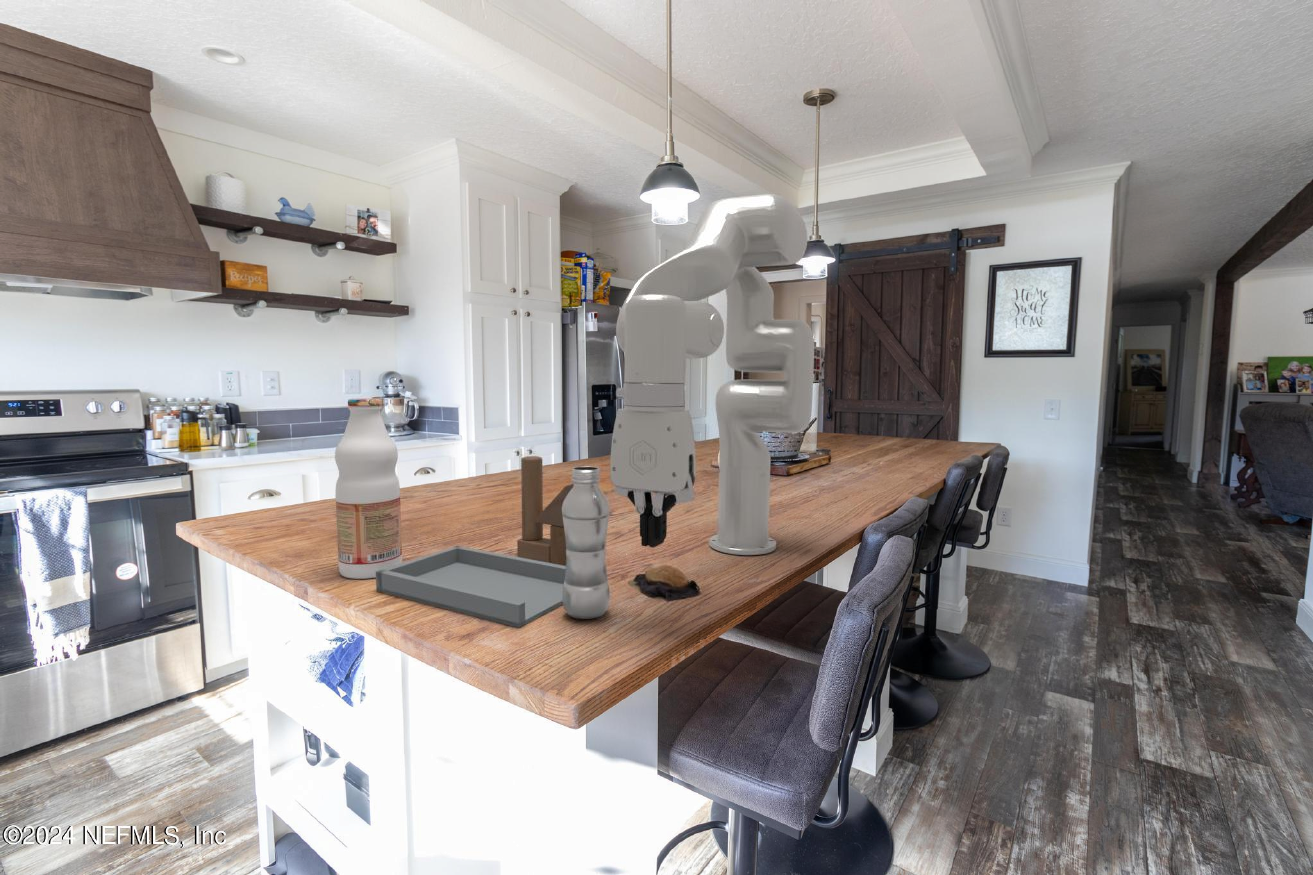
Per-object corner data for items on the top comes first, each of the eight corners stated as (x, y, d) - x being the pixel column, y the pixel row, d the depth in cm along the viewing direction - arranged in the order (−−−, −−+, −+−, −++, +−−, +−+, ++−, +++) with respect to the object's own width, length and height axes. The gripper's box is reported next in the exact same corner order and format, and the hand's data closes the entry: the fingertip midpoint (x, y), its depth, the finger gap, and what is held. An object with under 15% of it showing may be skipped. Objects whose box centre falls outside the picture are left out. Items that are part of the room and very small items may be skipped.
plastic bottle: (569, 628, 78) (569, 473, 76) (556, 609, 84) (555, 465, 82) (617, 620, 81) (618, 470, 79) (600, 603, 87) (601, 463, 85)
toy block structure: (566, 570, 102) (566, 462, 100) (516, 560, 107) (515, 457, 105) (579, 564, 105) (579, 459, 103) (530, 554, 110) (529, 455, 108)
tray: (457, 562, 105) (457, 545, 104) (589, 589, 92) (589, 570, 92) (376, 591, 91) (375, 571, 90) (519, 628, 78) (518, 605, 78)
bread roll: (623, 586, 96) (623, 563, 95) (668, 577, 100) (668, 555, 100) (661, 608, 87) (661, 583, 86) (708, 596, 91) (708, 572, 91)
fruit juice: (326, 579, 95) (318, 399, 93) (356, 561, 105) (350, 397, 102) (386, 580, 95) (380, 400, 92) (411, 562, 105) (406, 398, 102)
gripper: (586, 397, 75) (586, 543, 77) (698, 401, 68) (695, 561, 70) (618, 396, 82) (617, 530, 84) (722, 399, 75) (719, 545, 77)
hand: (653, 543), depth 77 cm, fingers closed
